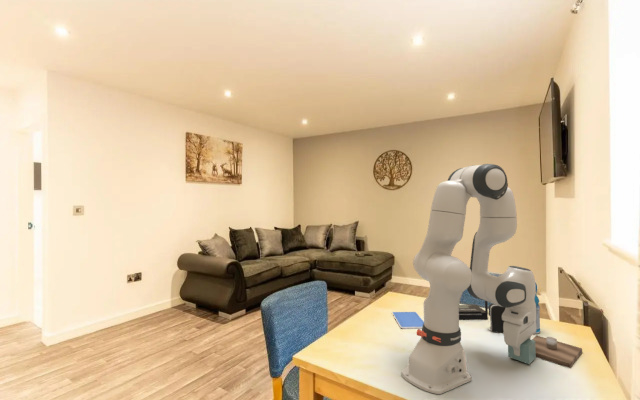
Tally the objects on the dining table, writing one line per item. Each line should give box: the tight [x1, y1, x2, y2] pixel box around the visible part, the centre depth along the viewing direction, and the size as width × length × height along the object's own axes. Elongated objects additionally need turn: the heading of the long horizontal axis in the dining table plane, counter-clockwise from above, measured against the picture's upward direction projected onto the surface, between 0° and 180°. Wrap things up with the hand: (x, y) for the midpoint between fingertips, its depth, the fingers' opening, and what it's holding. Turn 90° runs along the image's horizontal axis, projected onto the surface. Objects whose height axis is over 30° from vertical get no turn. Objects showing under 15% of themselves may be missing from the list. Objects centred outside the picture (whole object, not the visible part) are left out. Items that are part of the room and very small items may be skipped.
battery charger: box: [488, 303, 505, 333], centre depth 128 cm, size 7×4×11 cm, turn 85°
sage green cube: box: [507, 338, 537, 365], centre depth 105 cm, size 6×6×6 cm
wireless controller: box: [459, 300, 489, 321], centre depth 146 cm, size 20×14×17 cm
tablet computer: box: [391, 311, 424, 330], centre depth 142 cm, size 19×13×1 cm, turn 179°
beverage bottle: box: [533, 283, 541, 335], centre depth 128 cm, size 8×8×20 cm
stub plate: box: [531, 335, 583, 369], centre depth 109 cm, size 16×14×5 cm
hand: (521, 351), depth 105 cm, fingers closed on sage green cube, 6 cm apart
